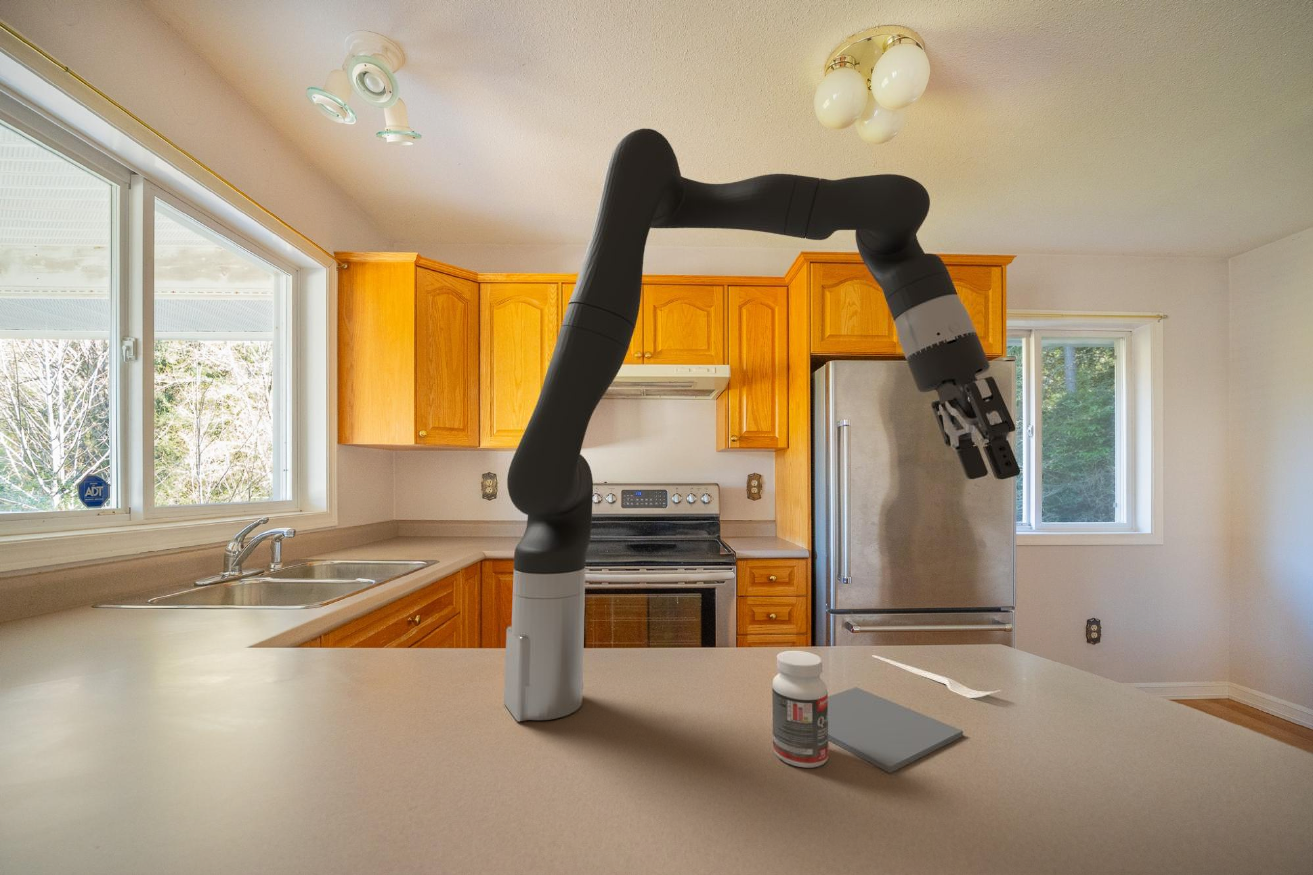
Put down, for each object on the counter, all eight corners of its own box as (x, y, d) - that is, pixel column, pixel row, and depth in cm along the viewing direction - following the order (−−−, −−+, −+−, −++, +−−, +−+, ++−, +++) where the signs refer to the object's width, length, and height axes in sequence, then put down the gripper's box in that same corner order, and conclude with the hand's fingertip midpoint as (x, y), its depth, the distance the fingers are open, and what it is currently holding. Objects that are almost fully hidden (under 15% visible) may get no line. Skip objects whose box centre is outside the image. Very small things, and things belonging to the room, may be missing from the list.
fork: (879, 658, 84) (878, 647, 84) (1004, 703, 66) (1003, 688, 66) (865, 661, 82) (864, 649, 83) (989, 708, 65) (988, 693, 65)
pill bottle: (832, 773, 49) (830, 669, 50) (773, 766, 50) (772, 664, 51) (824, 743, 55) (823, 650, 56) (772, 737, 56) (771, 647, 57)
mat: (889, 773, 49) (889, 766, 49) (784, 716, 61) (784, 711, 61) (963, 736, 57) (962, 730, 57) (856, 691, 69) (856, 687, 69)
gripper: (893, 368, 66) (938, 486, 63) (921, 338, 52) (980, 488, 49) (953, 348, 64) (1002, 469, 61) (998, 312, 50) (1063, 466, 48)
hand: (992, 477), depth 55 cm, fingers open, 8 cm apart
